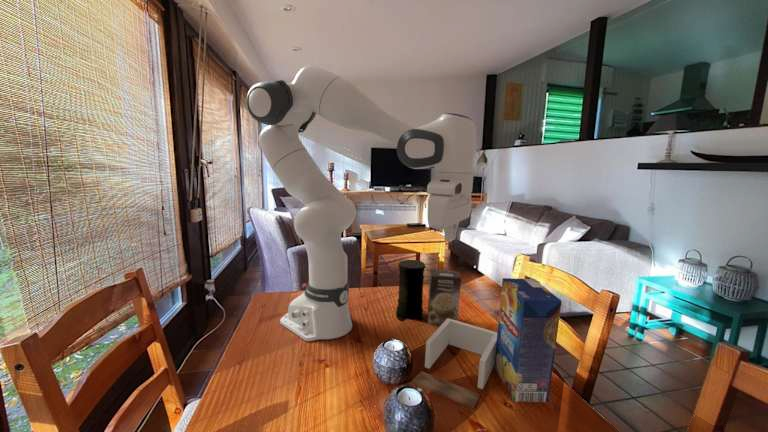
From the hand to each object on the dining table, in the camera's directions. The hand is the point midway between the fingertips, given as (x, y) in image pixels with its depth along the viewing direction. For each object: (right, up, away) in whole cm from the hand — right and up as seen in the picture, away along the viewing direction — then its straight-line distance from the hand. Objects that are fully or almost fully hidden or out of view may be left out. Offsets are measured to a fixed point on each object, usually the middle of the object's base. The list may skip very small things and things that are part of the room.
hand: (449, 240), depth 82 cm
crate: (+3, -32, +1) cm, 32 cm away
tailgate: (0, -31, -5) cm, 32 cm away
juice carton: (+14, -33, -6) cm, 37 cm away
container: (-8, -27, +26) cm, 38 cm away
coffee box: (+2, -28, +24) cm, 36 cm away
